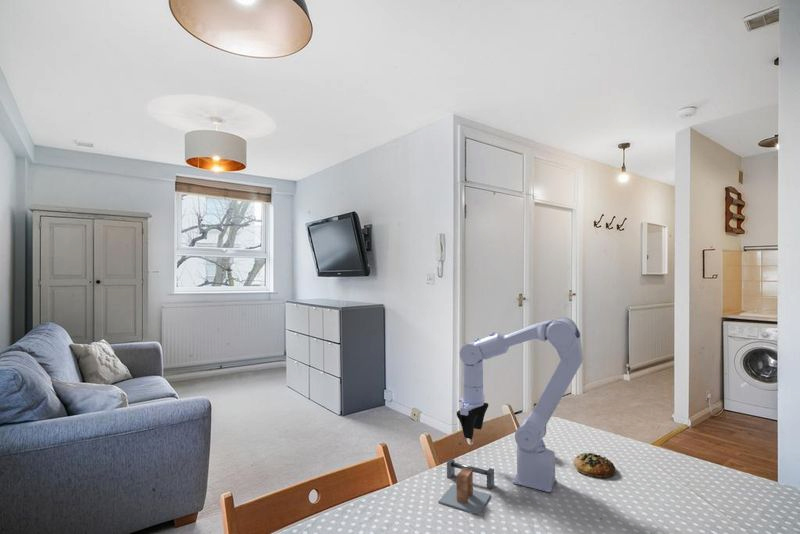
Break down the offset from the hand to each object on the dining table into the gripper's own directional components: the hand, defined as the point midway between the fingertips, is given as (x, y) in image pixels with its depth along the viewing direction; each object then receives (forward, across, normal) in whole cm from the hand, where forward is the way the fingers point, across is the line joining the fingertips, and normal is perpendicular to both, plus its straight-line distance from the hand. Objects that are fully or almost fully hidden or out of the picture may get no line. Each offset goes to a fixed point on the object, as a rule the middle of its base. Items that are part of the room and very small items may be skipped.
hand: (473, 433), depth 116 cm
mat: (+9, +17, +4) cm, 20 cm away
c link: (+9, +17, +4) cm, 20 cm away
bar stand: (+9, +8, +2) cm, 13 cm away
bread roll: (+10, -15, +30) cm, 35 cm away
